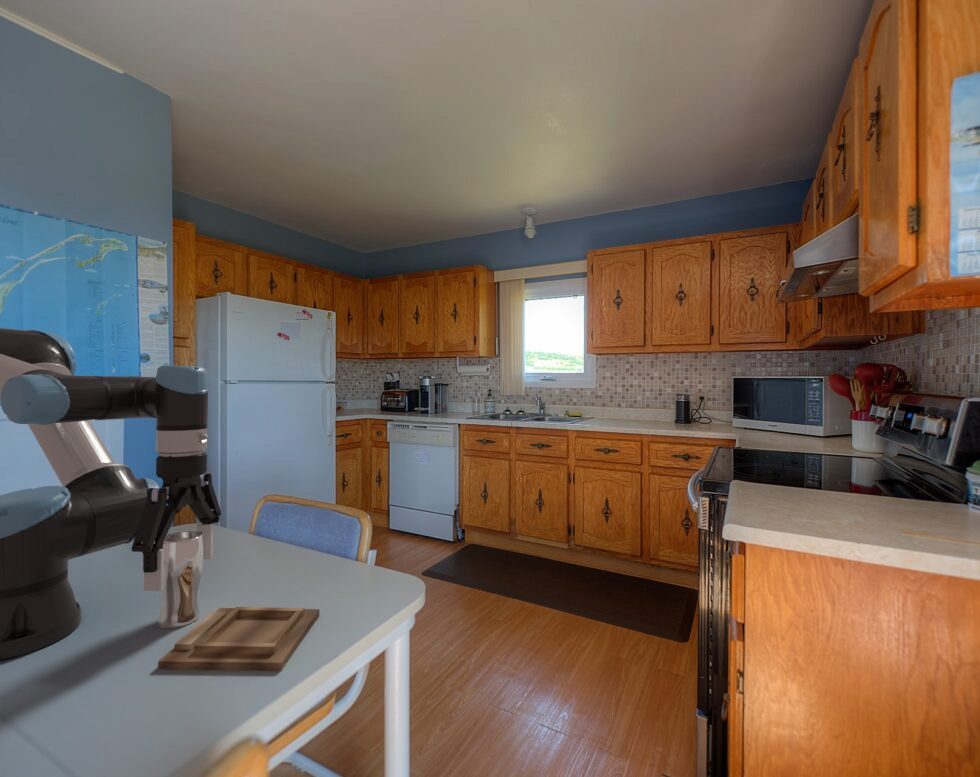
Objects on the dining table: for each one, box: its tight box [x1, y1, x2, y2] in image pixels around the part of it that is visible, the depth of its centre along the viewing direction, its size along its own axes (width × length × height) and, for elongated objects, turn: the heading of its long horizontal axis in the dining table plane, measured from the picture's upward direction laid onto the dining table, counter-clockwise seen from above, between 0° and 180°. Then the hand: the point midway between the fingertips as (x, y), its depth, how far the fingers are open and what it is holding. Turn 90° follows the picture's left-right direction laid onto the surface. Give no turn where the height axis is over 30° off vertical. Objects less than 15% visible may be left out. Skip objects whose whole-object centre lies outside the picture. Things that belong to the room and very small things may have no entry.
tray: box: [157, 606, 320, 672], centre depth 76 cm, size 18×16×2 cm
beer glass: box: [157, 529, 204, 630], centre depth 81 cm, size 7×7×15 cm
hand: (181, 573), depth 81 cm, fingers open, 13 cm apart
